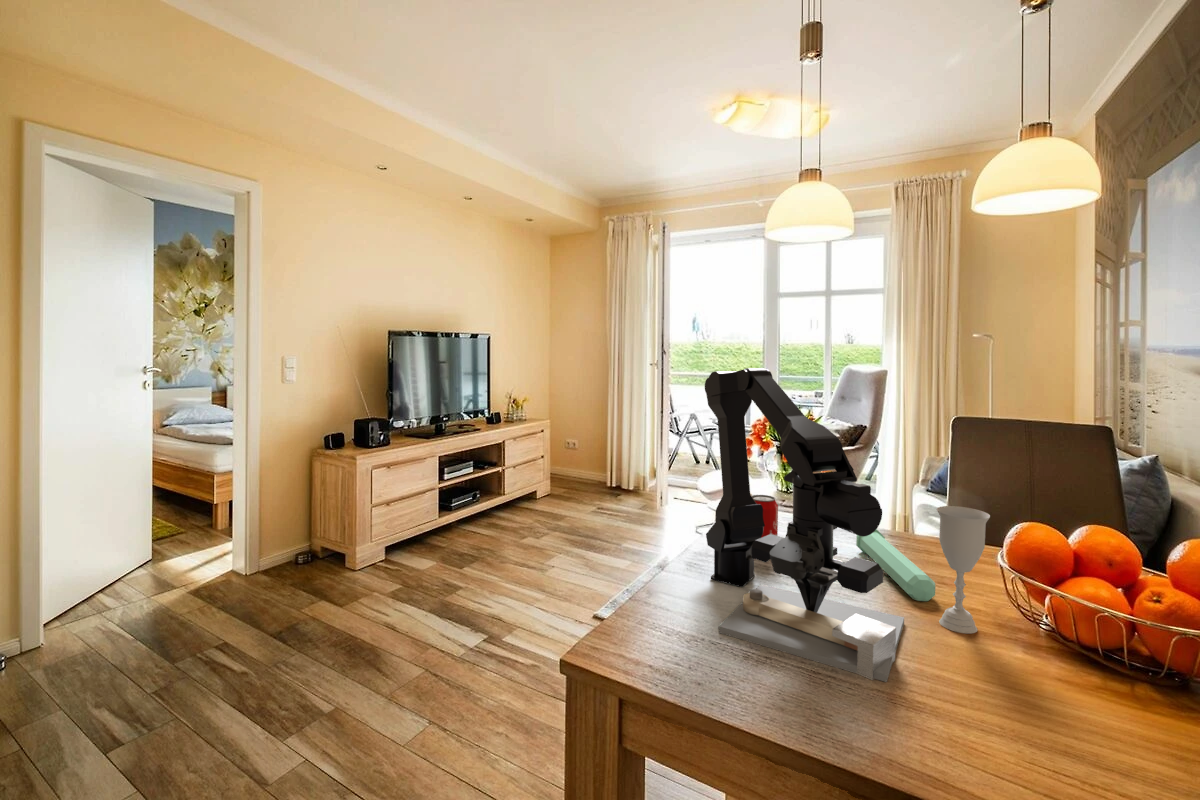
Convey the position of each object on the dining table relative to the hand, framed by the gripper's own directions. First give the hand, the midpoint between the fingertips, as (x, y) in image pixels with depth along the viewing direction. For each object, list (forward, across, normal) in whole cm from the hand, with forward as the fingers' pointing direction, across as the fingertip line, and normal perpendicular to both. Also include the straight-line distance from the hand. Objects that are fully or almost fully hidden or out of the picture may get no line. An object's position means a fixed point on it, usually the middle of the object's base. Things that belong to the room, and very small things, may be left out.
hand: (812, 614), depth 84 cm
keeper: (+2, +9, -3) cm, 10 cm away
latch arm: (+1, -1, -2) cm, 3 cm away
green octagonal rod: (+4, -1, +32) cm, 32 cm away
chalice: (+3, +14, +18) cm, 23 cm away
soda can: (+3, -25, +23) cm, 34 cm away
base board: (+2, 0, 0) cm, 2 cm away
